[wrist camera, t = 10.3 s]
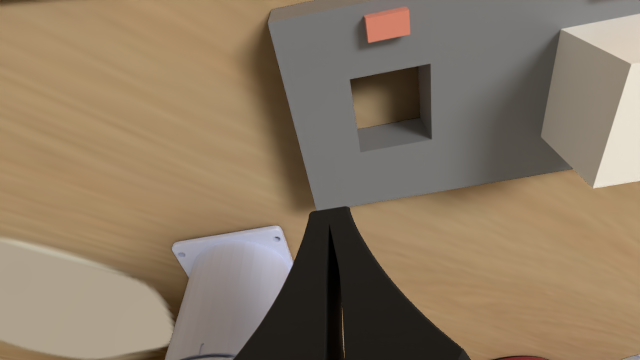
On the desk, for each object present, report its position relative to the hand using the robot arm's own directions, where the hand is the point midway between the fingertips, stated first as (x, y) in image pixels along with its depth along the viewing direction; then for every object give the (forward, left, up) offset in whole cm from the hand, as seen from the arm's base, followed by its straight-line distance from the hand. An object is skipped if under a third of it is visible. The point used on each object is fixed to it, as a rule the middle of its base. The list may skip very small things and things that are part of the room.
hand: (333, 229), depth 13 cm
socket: (0, -9, -10) cm, 13 cm away
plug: (0, -14, -9) cm, 16 cm away
